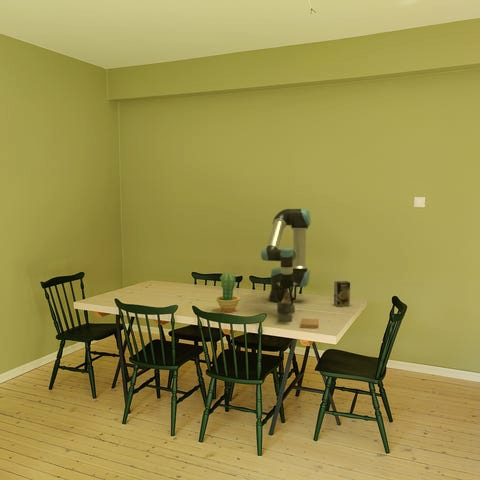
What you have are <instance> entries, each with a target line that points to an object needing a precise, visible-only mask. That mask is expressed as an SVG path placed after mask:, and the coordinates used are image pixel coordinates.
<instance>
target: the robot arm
mask: <svg viewBox="0 0 480 480" xmlns="http://www.w3.org/2000/svg"><path fill="white" fill-rule="evenodd" d="M311 222H312V221H311V214H310V212H309V210H308V209H306V208H285V209H283V210H281V211H279V212H278V213H277V214H276V215H274V217H273V219H272V228H271V231H270V236H269V239H268V241H267V246H266V248H263V249H261V251H260V259H261V260H263V261H266V262H280V267H276V268H273V269H271V272H270V273H271V274H270V284H271V286H270V287H271V288H270V289H271V290H270V292H269V295H268V301H269V302H271V303H276V304H277V303H281V302H282V299H283V297H284V295H285V293H286V292H287V293H290V298H291V300H290V303H291V306H293V305H294V301H295V300H297V288H306V287H307V286H308V284H309V281H310V275H311V273H310V272H311V271H310V270H308V267H307V266H306V242H307V241H306V240H307V237H306V236H307V234H306V233H307V230H308V229H309V227H310V226H311V225H312V224H311ZM287 226H289V227H290V228H291V230H292V231H293V234H292V235H293V238H292V239H293V241H292V242H293V244H292V248H291V247H284V248H281V249H279V248H280V244H281V240H282V236H283V233H284V230H285V228H286V227H287ZM292 287H294V289H293V290H294V291H293V290H292ZM292 291H293V292H292Z"/></svg>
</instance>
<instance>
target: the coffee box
mask: <svg viewBox="0 0 480 480" xmlns="http://www.w3.org/2000/svg"><path fill="white" fill-rule="evenodd" d="M333 283H334V286H333V305H334V306H335V307H337V308H340V307H341V308H342V307H350V304H351V303H350V302H351V300H350V299H351V282H350V281H347V280H342V281H341V280H340V281H339V280H338V281H336V280H335V281H334V282H333Z"/></svg>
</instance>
